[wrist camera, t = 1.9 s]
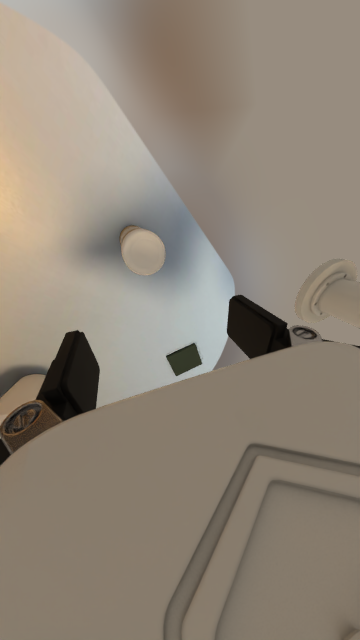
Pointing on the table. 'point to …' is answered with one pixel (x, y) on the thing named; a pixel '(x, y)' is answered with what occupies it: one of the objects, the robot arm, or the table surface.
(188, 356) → the mat
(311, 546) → the robot arm
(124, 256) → the sprinkles bottle
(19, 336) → the table surface
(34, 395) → the cup
